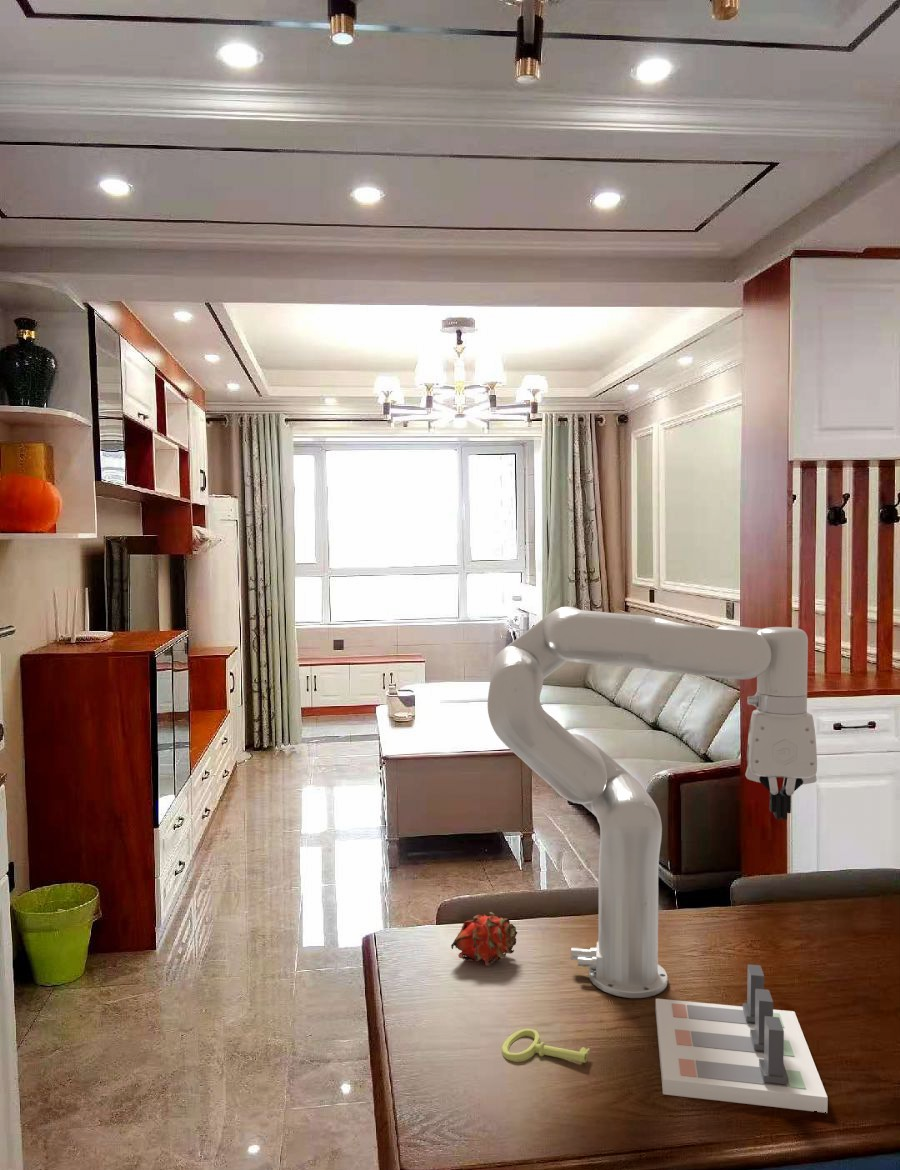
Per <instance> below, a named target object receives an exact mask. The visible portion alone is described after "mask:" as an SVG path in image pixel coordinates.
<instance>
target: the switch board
mask: <svg viewBox="0 0 900 1170" xmlns="http://www.w3.org/2000/svg"><path fill="white" fill-rule="evenodd" d="M773 1017H779V1019H780V1021H781V1024H782V1027H783V1030H784V1054H783V1063H784V1066H785V1069H786V1072H787V1075H788V1084H781V1083H771V1082H764V1081H763V1078H762V1074H761V1071H760V1067H759V1059H764V1051H761V1050H754V1047H753V1044H752V1040H751V1037H750V1029H752V1030H755V1022H746V1019H745V1015H744V1011H743V1006H742V1005H741V1006H740V1005H730V1004H729V1005H728V1004H720V1003H718V1004H717V1003H709V1002H708V1003H707V1002H699V1001H698V1002H697V1001H685V1000H677V999H676V1000H675V999H674V1000H673V999H668V998H667V999H664V998H655V1022H656V1030H657V1031H656V1032H657V1041H658V1042H657V1043H658V1053H659V1067H660V1073H661V1075H660V1077H661V1086H662V1087H661V1088H662V1089H661V1090H662V1095H667V1096H675V1097H676V1096H677V1097H684V1098H692V1099H693V1098H694V1099H702V1100H709V1101H710V1100H711V1101H720V1102H727V1103H735V1104H736V1103H737V1104H744V1105H745V1104H747V1105H753V1106H764V1107H772V1108H773V1107H774V1108H781V1109H789V1110H798V1111H806V1112H814V1111H817V1113H824V1114H828V1101H829V1099H828V1098H829V1097H828V1094H827V1092H826V1090H825V1087H824V1085H823V1081H822V1080H821V1077H820V1074H819V1071H818V1070H817V1067H816V1064H815V1062H814V1059H813V1056H812V1054H811V1051H810V1049H809V1048H810V1047H809V1045H808V1043H807V1041H806V1038H805V1036H804V1033H803V1030H802V1028H801V1025H800V1022H799V1020H798V1017H797V1015H796V1012H795V1010H794V1011H793V1010H784V1009H782V1010H781V1009H773ZM825 1112H826V1113H825Z"/></svg>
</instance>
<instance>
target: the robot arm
mask: <svg viewBox="0 0 900 1170" xmlns="http://www.w3.org/2000/svg"><path fill="white" fill-rule="evenodd" d="M808 652H809V638H808V635H807V633H806V631H805V630H803V629H801V628H797V627H791V626H790V627H789V626H771V627H764V628H758V627H747V626H741V625H735V624H734V625H733V624H732V625H731V624H727V625H726V624H725V625H721V626H719V627H716V628H714V627H713V628H711V627H706V626H705V627H704V626H695V625H691V624H684V623H678V622H675V621H672V620H668V619H665V618H661V617H657V616H652V615H644V614H631V613H630V614H629V613H617V612H616V613H615V612H605V611H594V610H584V609H579V608H578V607H574V606H561V607H559V608H556V609H554V610H553V611H551V612H550V613H549V614H547V615H546V616H544V618H542V619H540V620H539V621H538V622H537V623H536V624H534V625H533V626H532V627H530V628H529V629H528V630H526V631H525V632H524V633H522V634H521V635H519V636H518V637H517V638H515V639H514V640H513V641H512V642H510V643H509V644H507V645H506V646H505V647H504V648H502V649H501V650H500V651H499V652H497V654H496V655H495V656H494V658H493V659H492V662H491V664H490V669H489V676H490V679H489V681H490V682H489V688H488V695H487V713H488V717H489V722H490V725H491V727H492V729H493V732H494V733H495V734H496V736H497V737H498V739H499V740H500V741H501V742H502V744H504V745H505V746H506V747H507V748H508V749H509V750H510V751H511V752H512V753H513V754H515V755H516V756H517V757H518V758H519V759H520V760H521V761H522V762H523V763H525V765H526V766H528V767H529V768H530V769H531V770H532V771H533V772H534V773H536V774H537V776H539V777H540V778H541V779H543V781H544V782H546V783H547V784H548V785H549V786H550V787H552V789H553V790H554V791H555V792H556V793H557V794H559V796H560V797H561V798H563V799H565V800H567V801H568V802H570V803H574V804H579V805H582V806H584V808H585V809H587V810H588V811H589V812H591V813H592V815H594V817H596V819H597V823H598V824H599V828H600V829H599V831H600V832H599V833H600V835H599V836H600V839H599V840H600V842H599V855H598V941H596V946H595V947H594V946H590V949H587V948H582V947H571V950H570V952H571V953H570V959H571V960H573V961H577V966H578V967H588V977H589V980H590V982H591V983H592V984H593V985H594V986H595V987H596V988H598V989H599V990H601V991H603V992H604V993H607V994H610V995H612V996H616V997H621V998H624V999H626V998H628V999H644V998H651V997H654V996H656V995H659V994H661V993H662V992H664V991H665V989H666V988H667V986H668V974H667V971H666V970H665V968H663V967H662V966H661V965H660V964H659V865H660V864H659V863H660V862H659V861H660V851H661V844H662V835H663V833H662V832H663V826H662V825H663V824H662V818H661V814H660V812H659V808H658V807H657V805H656V802H654V799H653V798H652V797H651V795H650V794H649V793H648V792H647V790H646V789H645V788H644V786H643V785H642V784H641V783H640V782H639V781H638V780H637V778H635V777H634V776H633V775H632V774H631V773H629V772H628V771H627V770H626V769H625V768H624V767H622V765H620V764H619V763H618V762H617V761H616V760H614V759H613V758H612V757H611V756H609V754H608V753H606V752H605V751H604V750H603V749H602V748H600V747H599V746H598V745H597V744H596V743H594V742H593V741H592V740H591V739H589V738H587V737H585V736H584V735H581V734H577V733H570V732H569V731H568V730H567V729H566V728H565V727H564V726H563V725H562V724H561V723H560V722H558V720H556V719H555V718H554V717H552V716H551V715H550V714H549V713H548V712H546V711H545V709H544V708H543V706H542V703H541V693H542V689H543V685H544V680H545V679H546V678H547V677H549V676H550V675H551V674H552V673H554V672H555V671H557V670H558V669H559V668H561V667H562V666H563V665H564V664H566V663H567V662H571V663H578V664H587V665H588V664H590V665H602V666H615V667H625V668H636V669H644V670H645V669H646V670H651V671H657V672H669V673H678V674H685V675H686V674H687V675H692V676H699V677H700V676H701V677H709V678H719V679H720V678H722V679H733V680H751V679H755V678H756V691H755V694H754V695H752V696H749V695H748V696H747V701H746V704H747V705H748V706H749V705H752V706H754V707H755V708H756V709H754V710H753V711H751V716H750V721H749V728H748V736H747V748H746V749H747V750H746V763H747V766H746V771H745V774H744V775H745V777H746V779H747V780H749V781H753V782H756V783H760V784H762V786H764V788H766V789H767V791H769V812H770V813H773V816H774V817H775V820H781V819H782V820H783V821H784V820H785V821H787V820H788V814H791V813H792V796H793V795H794V794H795V791H796V790H798V789H799V788H800V787H801V786H802V785H809V784H814V783H816V782H817V781H818V780H817V776H816V775H817V773H818V755H817V752H818V751H817V738H816V737H817V736H816V727H815V722H814V717H813V714H811V713H810V712H808V663H809V662H808V659H809V658H808V656H809V654H808ZM777 778H783V782H782V787H780V789H779V787H778V780H777Z"/></svg>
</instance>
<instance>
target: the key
mask: <svg viewBox="0 0 900 1170" xmlns="http://www.w3.org/2000/svg"><path fill="white" fill-rule="evenodd" d="M523 1037H530V1038H532V1039H534V1040H533V1042H532V1043H531V1044H530V1046H528V1047H527V1048H526V1049H524V1050H522V1051H521V1052H510V1051H509V1050H510V1048H511V1046H512V1044H513V1043H514V1042H515V1041H516V1040H518V1039H520V1038H523ZM590 1049H591V1048H589V1047H588V1048H586V1047H582V1046H581V1048H580V1050H579V1051H578V1050H572V1049H566V1048H562V1047H556V1046H551V1045H546V1042H545V1041H541V1038H540V1034H539V1032H538V1031H537V1030H535V1029H532V1028H523V1029H522V1028H521V1029H519V1030H516V1032H513V1033H512V1034H511V1035H509V1036H508V1037H507V1038H506V1039H505V1040H504V1042H503V1044H502V1046H501V1054H502V1056H503V1058H505V1059H506V1060H508V1061H511V1062H517V1063H518V1062H519V1063H520V1062H525V1061H527V1060H529V1059H531V1058H532V1057H533V1056H534V1055H536V1054H538V1055H539V1057H540V1058H541V1057H543V1056H549V1057H554V1058H560V1059H565V1060H570V1061H575V1062H580V1063H584V1064H585V1063H587V1061H588V1055H589V1053H590V1052H591V1051H590Z"/></svg>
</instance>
